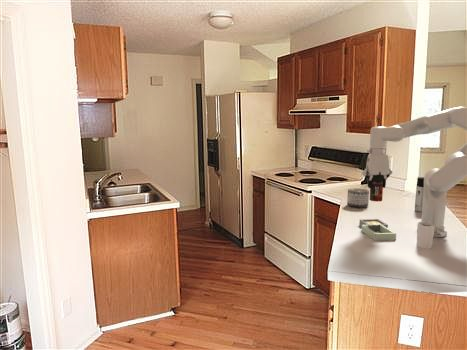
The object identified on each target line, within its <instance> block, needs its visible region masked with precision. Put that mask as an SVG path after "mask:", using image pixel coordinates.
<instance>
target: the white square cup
mask: <svg viewBox="0 0 467 350" xmlns="http://www.w3.org/2000/svg"><path fill="white" fill-rule="evenodd" d="M416 226H417V227H416V228H417V229H416V232H417V233H416V246H417V247H419V248H421V249H427V248H428V249H432V247H433V241H434V237H433V235H434V228H435V225H434V224H433V223H429V222H421V221H418V222H417V225H416Z"/></svg>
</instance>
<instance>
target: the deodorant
mask: <svg viewBox="0 0 467 350" xmlns="http://www.w3.org/2000/svg"><path fill="white" fill-rule="evenodd" d="M372 181H373V182H372V188H369V201H371V202H382V201H383V195H384V194H383V193H384V192H383V191H384V188H383V175H381V172H379V175H373V177H372Z"/></svg>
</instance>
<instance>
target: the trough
mask: <svg viewBox="0 0 467 350" xmlns="http://www.w3.org/2000/svg"><path fill="white" fill-rule="evenodd" d="M376 225H380V226H379V227H380V231H379V233H377V232H376V231H372V230H376V229H369V228H370V227H371V228H372V227H373V226H369V228H368V225H362V227H361V232H363V233H364V234H365V235H366V236H368V237H369V238H371V239H373V240H374V241H392V240H393V241H395V240H397V233H396V232H394V230H391V229H389V227H388V228H386V227H385V226H383V225H381V224H376ZM373 228H374V227H373ZM377 230H379V229H378V228H377Z"/></svg>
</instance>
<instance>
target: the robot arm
mask: <svg viewBox="0 0 467 350" xmlns="http://www.w3.org/2000/svg"><path fill="white" fill-rule="evenodd" d="M456 127H458V128H461V129H463V130H465V131H467V107H466V106H458V107H457V106H456V107H452V108H449V109H446V110H441V111H439V112H435V113H432V114H428V115H424V116H421V117H418V118H415V119H413V120H408V121H406V122H402V123H397V124H395V125H391V126H372V127H371V128H370V133H369V135H370V138H369V139H370V140H369V149H367V151H366V152H367V153H369V154H368V155H367V159H366V165H365V166H366V167H365V168H364V170H363V171H361V175H362V176H363V177H364V178H365V179H366V180H367V187H368V189H370V188H372V182H373V181H372V177H373V175H379V172H381V175H383V189H384V188H386V186H387V185H386V184H387V180H388V178H389V177H390V176H391V175H392V174H393V170H392V169H390V159H389V154H387V142H393V143H397V142H401V141H402V140H404V139H405V138H409V137H413V136H419V135H429V134H433V133H436V132H440V131H444V130H448V129H451V128H456ZM465 178H467V141H466V142H465V143H464V144H463V145H461V146H460V147H459V148H458V149H457V150H456V151H454V152H453V153H452V154H450V155H449V156H447V158H446V159H445V161H444V165H443V166H442V167H439V168H437V167H436V168H431V169H429V170H428V171H426V173H425V175H424V196H423V207H422V212H421V221H420V222H429V223H433V224H434V225H435V228H434V235H433V238H444V237H447V235H448V232H447V231H446V230H445V229H446V227H445V218H446V217H445V216H446V215H445V214H446V206H447V205H446V204H447V195H448V194H447V192H448V191H449V190H450V189H452V188H453V187H455V186H456V185H458V184H459V183H460V182H461V181H463V180H464V179H465Z"/></svg>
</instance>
